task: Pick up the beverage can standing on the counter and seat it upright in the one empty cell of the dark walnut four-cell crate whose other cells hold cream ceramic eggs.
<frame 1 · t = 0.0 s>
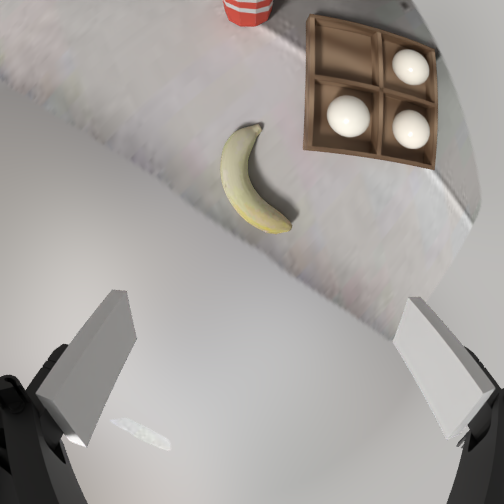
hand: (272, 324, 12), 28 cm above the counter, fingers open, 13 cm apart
egg c: (401, 129, 33), resting on crate
egg b: (401, 70, 30), resting on crate
fruit: (258, 182, 38), on the counter
crate: (372, 92, 32), on the counter
egg a: (341, 117, 33), resting on crate
beverage can: (248, 12, 28), on the counter
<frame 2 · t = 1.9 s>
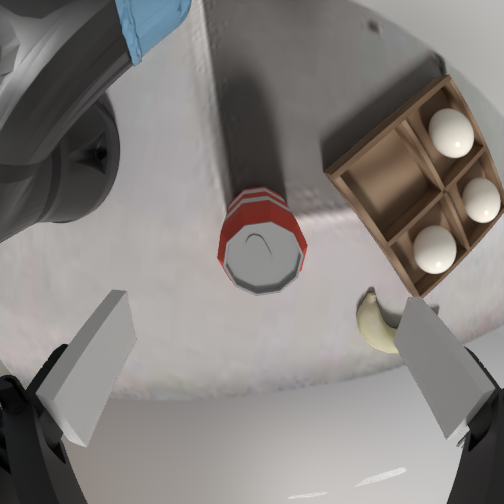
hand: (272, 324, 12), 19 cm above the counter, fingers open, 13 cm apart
egg c: (468, 195, 27), resting on crate
egg b: (437, 132, 25), resting on crate
fruit: (398, 318, 35), on the counter
crate: (430, 186, 28), on the counter
egg a: (422, 241, 30), resting on crate
beverage can: (258, 214, 29), on the counter
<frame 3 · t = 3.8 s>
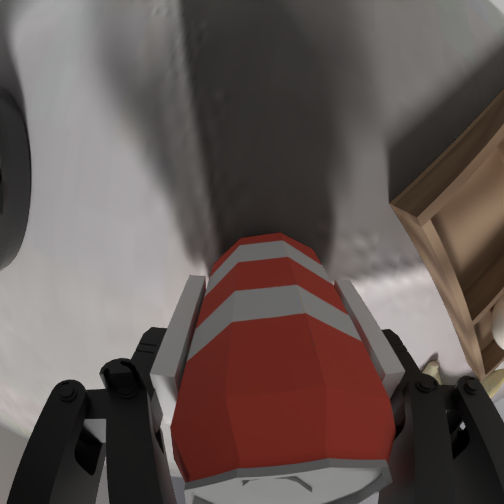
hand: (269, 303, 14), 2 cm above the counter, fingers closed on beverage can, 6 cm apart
fruit: (457, 377, 21), on the counter
egg a: (500, 301, 16), resting on crate
beverage can: (267, 281, 16), on the counter, touching gripper
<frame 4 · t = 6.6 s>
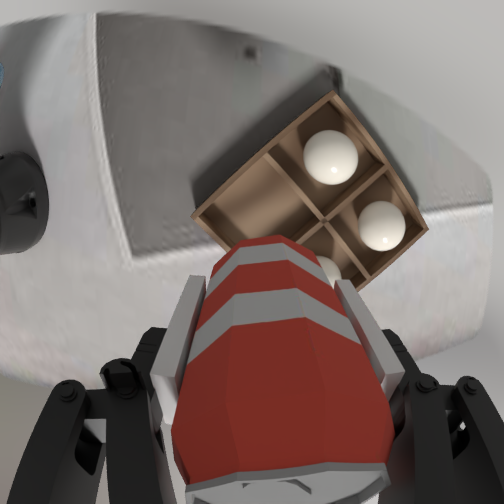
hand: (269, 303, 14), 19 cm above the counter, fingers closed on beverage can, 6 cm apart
egg c: (372, 219, 31), resting on crate
egg b: (323, 156, 29), resting on crate
crate: (317, 214, 32), on the counter
egg a: (312, 269, 34), resting on crate
beverage can: (267, 282, 16), point 17 cm above the counter, touching gripper
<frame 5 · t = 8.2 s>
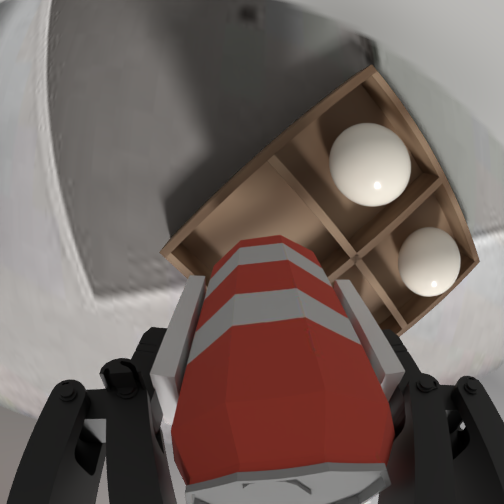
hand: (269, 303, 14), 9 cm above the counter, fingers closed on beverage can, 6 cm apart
egg c: (413, 249, 22), resting on crate
egg b: (355, 161, 19), resting on crate
crate: (343, 244, 22), on the counter
beverage can: (267, 283, 16), point 7 cm above the counter, touching gripper
when the fingers open (5 cm above the counter, at t = 9.4 s): beverage can drops 2 cm, resting on crate.
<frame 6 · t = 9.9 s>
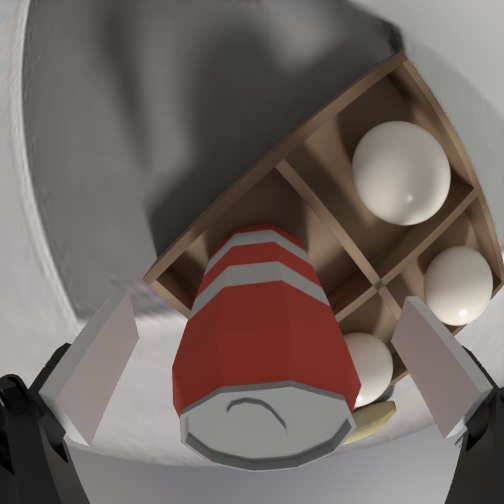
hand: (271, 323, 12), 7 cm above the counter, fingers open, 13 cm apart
egg c: (438, 269, 18), resting on crate
egg b: (380, 167, 15), resting on crate
fruit: (324, 407, 25), on the counter
crate: (362, 265, 18), on the counter
egg a: (345, 345, 20), resting on crate
beverage can: (260, 267, 18), resting on crate
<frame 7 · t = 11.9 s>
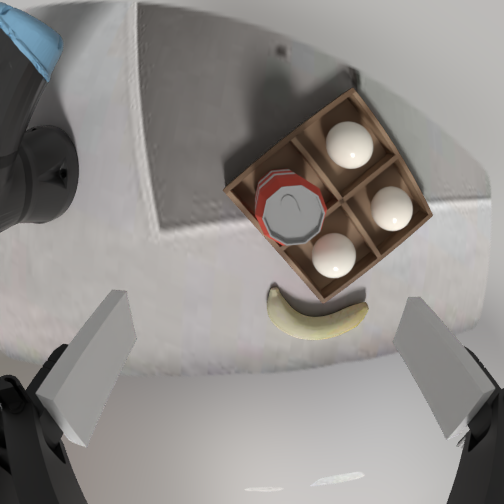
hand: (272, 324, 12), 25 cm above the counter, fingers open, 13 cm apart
egg c: (382, 204, 34), resting on crate
egg b: (342, 144, 32), resting on crate
fruit: (317, 306, 41), on the counter
crate: (335, 196, 34), on the counter
egg a: (328, 247, 36), resting on crate
beverage can: (280, 192, 34), resting on crate
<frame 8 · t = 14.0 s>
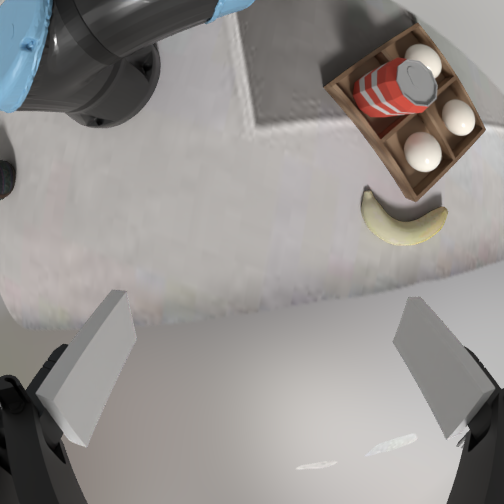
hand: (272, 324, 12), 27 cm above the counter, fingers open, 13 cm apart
egg c: (447, 117, 31), resting on crate
egg b: (413, 65, 28), resting on crate
fruit: (403, 213, 38), on the counter, touching crate
mate gourd: (9, 177, 34), on the counter
crate: (412, 106, 31), on the counter
egg a: (412, 150, 33), resting on crate
beverage can: (371, 96, 31), resting on crate
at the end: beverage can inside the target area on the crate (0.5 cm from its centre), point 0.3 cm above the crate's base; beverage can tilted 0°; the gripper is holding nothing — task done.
